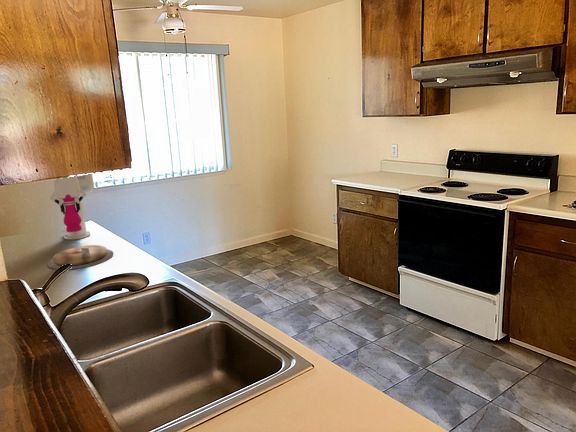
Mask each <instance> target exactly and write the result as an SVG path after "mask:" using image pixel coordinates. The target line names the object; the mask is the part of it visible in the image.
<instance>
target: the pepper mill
mask: <svg viewBox="0 0 576 432" xmlns="http://www.w3.org/2000/svg"><path fill="white" fill-rule="evenodd" d="M74 199H75V197H74V198H72V197H71V196H70V195H69V194H68V195H66V196H65V198H64V199H63V201H64V202H63V203H64V204H63V205H65V216H64V215H63V224H64V225H66V226H67V227H66V226H65V228H66V231H67V232H76V231H80V230H82V227H81V225H80V223H81V221H82V220H81V217H80V215H79V214H78V212H77V210H76V208H75V203H76V202H75V200H74Z"/></svg>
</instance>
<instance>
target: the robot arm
mask: <svg viewBox="0 0 576 432" xmlns="http://www.w3.org/2000/svg"><path fill="white" fill-rule="evenodd" d="M52 180H53V179H52ZM52 183H53V193H52V194H51V195H50V197H49V200H50V201H52V202H54V203H56V204H57V205H59V208H60V212H61V213H62V214H63V217H64V216H65V205H63V204H64V203H63V202H64V201H63V199H64V198H65V196H66V195H68V194H69V195H70V196H71V197H72V198H74V197H75V199H74V200H75V202H76V203H75V208H76V210H77V212H78V214H79V215H80V217H81V220H82V221H81V223H80V225H81V227H82V230H80V231H76V232H67V231H66V227H67V226H66V225H65V224H64V225H65V227H64V229H62V230H61V231H62V233H65V235H64V236H63V237H64V239H65V240H71V241H72V240H79V239H84V238H87V237H89V236H90V235H91V232H90V231H88V230H87V226H86V225H87V224H86V220H85V214H84V208H83V203H82V200H83V199H84V198H85V197H86V196H87V194H91V193H93V192H94V190H95V185H94V184H95V182H94V177H93V173H92V174H88V175H78V176H77V175H76V176H74V177H69V178H63V179H56V180H53V181H52Z"/></svg>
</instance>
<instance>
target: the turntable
mask: <svg viewBox="0 0 576 432" xmlns="http://www.w3.org/2000/svg"><path fill="white" fill-rule="evenodd" d="M107 249H108V248H107V247H106V246H103V245H98V244H96V245H94V244H93V245H92V244H91V245H90V244H89V245H81V246H74V247H70V248H68V249H64V250H61V251H59V252H57V253H55V254H54V255H53V257H52V259H53V261H54V263H55V264H56V265H61V266H62V265H65V264H72V265H80V264H86V263H90V262H93V261H96V260H99V259H101V258H103V257H105V256H106V255H107Z"/></svg>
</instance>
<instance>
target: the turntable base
mask: <svg viewBox="0 0 576 432" xmlns="http://www.w3.org/2000/svg"><path fill="white" fill-rule="evenodd" d="M113 256H114V252H113V250H111V249H108V248H107V255H106V256H105V257H103V258H101V259H99V260H96V261H93V262H90V263H86V264H80V265H72V269H71V270H79V269H83V268H89V267H93V266H96V265H99V264H103V263H104V262H105V263H106V261H109V260H111V259H112V258H113ZM47 267H48V268H49V269H53V270H56V269H58V268H59V267H61V265H56V264H55V263H54V261H53V258H51V259H50V260H49V261H48V262H47ZM78 268H79V269H78Z"/></svg>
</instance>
